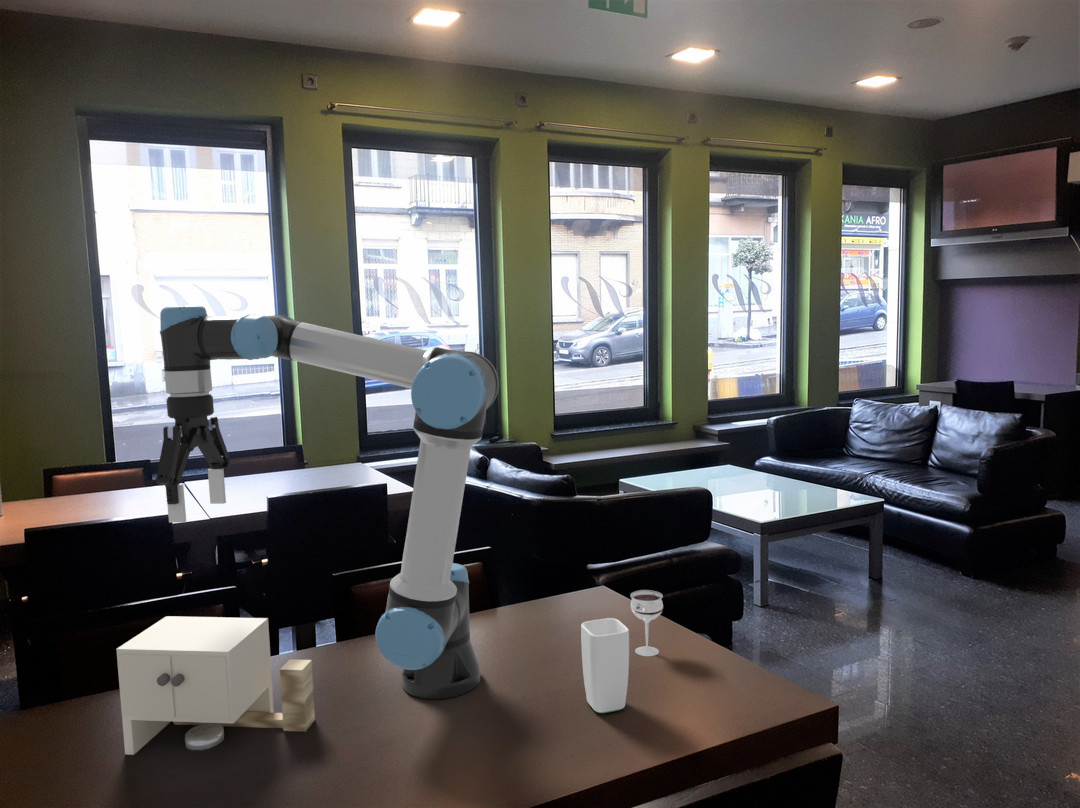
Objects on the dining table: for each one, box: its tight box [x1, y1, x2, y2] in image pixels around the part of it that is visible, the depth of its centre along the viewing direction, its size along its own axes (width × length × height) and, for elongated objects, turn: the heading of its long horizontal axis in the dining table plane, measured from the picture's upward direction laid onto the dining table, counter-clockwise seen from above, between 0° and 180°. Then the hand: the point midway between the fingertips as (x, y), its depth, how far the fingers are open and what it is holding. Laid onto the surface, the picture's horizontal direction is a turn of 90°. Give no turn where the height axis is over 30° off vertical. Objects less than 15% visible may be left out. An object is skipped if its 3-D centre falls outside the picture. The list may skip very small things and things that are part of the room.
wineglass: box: [629, 589, 664, 657], centre depth 163 cm, size 7×7×12 cm
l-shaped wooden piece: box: [172, 659, 316, 732], centre depth 137 cm, size 24×4×11 cm, turn 84°
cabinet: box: [115, 615, 275, 756], centre depth 133 cm, size 19×16×18 cm
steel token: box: [184, 723, 225, 752], centre depth 132 cm, size 6×6×2 cm
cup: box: [580, 617, 630, 714], centre depth 140 cm, size 7×7×15 cm
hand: (198, 512), depth 141 cm, fingers open, 13 cm apart
